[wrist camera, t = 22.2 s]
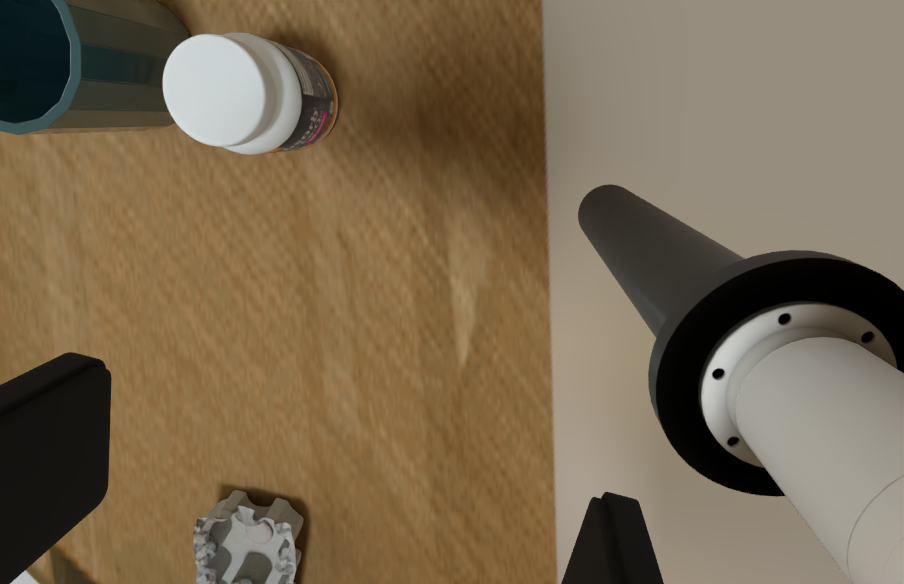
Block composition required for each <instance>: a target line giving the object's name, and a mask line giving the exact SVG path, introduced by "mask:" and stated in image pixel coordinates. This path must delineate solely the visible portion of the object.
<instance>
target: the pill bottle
mask: <svg viewBox="0 0 904 584" xmlns="http://www.w3.org/2000/svg"><path fill="white" fill-rule="evenodd" d="M163 94H164V99H165V102H166V105H167V108H168V110H169V112H170V114H171V116H172V117H173V119H174V120H175V122H176V123H177V124H178V126H179V127H180V128H181V129H182V130H183V131H184V132H185V133H186V134H188V135H189V136H190V137H192V138H194V139H195V140H197V141H199V142H201V143H204V144H207V145H211V146H217V147H223V148H225V149H228V150H230V151H233V152H236V153H241V154H250V155H255V154H265V153H272V152H282V151H291V150H299V149H305V148H308V147H311V146H313V145H315V144H317V143H318V142H320V141H321V140H322V139H323V138H324V137H325V136H326V135H327V134H328V133H329V131H330V130H331V128H332V127H333V125H334V122H335V119H336V115H337V110H338V98H337V92H336V88H335V85H334V83H333V80H332V78H331V77H330V75H329V73H328V72H327V71H326V69H325V68H324V67H323V66H322V65H321V64H320V63H319V62H318V61H317V60H315V59H314V58H313V57H311V56H309V55H307V54H306V53H304V52H301V51H299V50H296V49H293V48H290V47H287V46H284V45H282V44H279V43H276V42H274V41H271V40H268V39H265V38H262V37H259V36H256V35H253V34H249V33H239V32H234V33H226V34H222V35H215V34H202V35H197V36H194V37H191V38H189V39H187V40H185V41H183V42H182V43H181V44H179V45H178V46H177V47H176V48H175V49H174V51H173V52H172V53H171V55H170V57H169V58H168V60H167V63H166V66H165V69H164V73H163Z"/></svg>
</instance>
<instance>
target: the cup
mask: <svg viewBox="0 0 904 584" xmlns="http://www.w3.org/2000/svg"><path fill="white" fill-rule="evenodd" d="M189 38H191V36H190V34H189V33H188V31H187V30H186V28H185V26H184V25H183V24H182V22H181V21H180V20H179V19H178V18H177V17H176V16H175V15H174V14H173V13H172V12H171V11H170V10H169V9H168V8H166V7H165V6H163V5H162V4H160V3H158V2H157V1H155V0H0V131H2V132H7V133H11V134H16V135H28V134H59V133H89V132H119V131H145V130H150V129H159V128H163V127H166V126H168V125H171V124H173V123H174V122H175V120H174V119H173V117H172V116H171V114H170V112H169V110H168V108H167V105H166V102H165V99H164V94H163V73H164V69H165V66H166V63H167V60H168V58H169V57H170V55H171V53H172V52H173V51H174V49H175V48H176V47H177V46H178V45H179V44H181V43H182V42H183V41H185V40H187V39H189Z"/></svg>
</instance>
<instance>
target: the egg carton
mask: <svg viewBox="0 0 904 584" xmlns="http://www.w3.org/2000/svg"><path fill="white" fill-rule="evenodd" d="M302 525H303V517H302V516H301V515H299V514H298V513H297V512H296V511H295V510H293V509H292V507H291V506H290V504H289V502H288V501H287V500H283V499H280V498H276V499H275V501H274V502H273V504H272V505H271V506H269V507H261V506H256V505H254V504H253V503H251V502H250V500H249V499H248V497H247V493H246V492H243V491H239V490H234V491H233V492H232V493H231V495H230V496H229V498H228V499H225V500H221V501H220V502H219V503H218V504H217V505H216V506H215V507H214V508H213V509H212V510H211V512H210V513H209V514H208V516H207V518H198V519H197V524H195V526H194V528H195V531H194V533H193V538H194V542H193V548H194V553H196V552H197V555H196V562H195V563H196V564H197V576H196V582H197V584H297V583H294V577H295V572H296V569H297V566H298V564H299V562H300V559H301V551H300V550H298V549H296V548H295V545H294V542H295V540H296V538H297V536H298V534H299V532H300V530H301V528H302Z"/></svg>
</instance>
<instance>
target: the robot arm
mask: <svg viewBox="0 0 904 584" xmlns="http://www.w3.org/2000/svg"><path fill="white" fill-rule="evenodd" d="M780 315H782V316H781V317H780ZM779 317H780V318H779ZM717 368H718V369H717ZM715 369H717V370H716V371H714V370H715ZM698 401H699V405H700V410H701V414H702V416H703V418H704V420H705V422H706V425H707V427H708V428H709V430H710V431H711V433H712V434H713V436H714V437H715V439H716V440H717V441H718V442H719V443H720V444H721V445H722V446H723V447H724V448H725V449H726V450H727V451H728V452H730V453H731V454H733V455H734V456H736V457H737V458H739V459H740V460H743V461H745V462H747V463H750V464H752V465H755V466H758V467H763V468H766V470H767V471H768V472H769V474H770V475H771V476H772V478H773V479H774V481H775V482H776V483H777V485H778V486H779V487H780V489H781V490H782V491H783V493H784V494H785V495H786V497H787V498H788V499H789V501H790V502H791V503H792V505H793V506H794V507H795V509H796V510H797V511H798V513H799V514H800V516H801V517H802V518H803V520H804V521H805V522H806V524H807V525H808V526H809V528H810V529H811V530H812V532H813V533H814V534H815V536H816V537H817V538H818V540H819V541H820V542H821V544H822V545H823V546H824V548H825V549H826V551H827V552H828V553H829V555H830V556H831V557H832V559H833V560H834V561H835V563H836V564H837V565H838V567H839V568H840V569H841V570H842V572H843V573H844V575H845V576H846V577H847V578H848V580H849V581H850V583H851V584H904V373H902V372H901V371H899V370H897V364H896V359H895V356H894V354H893V351H892V349H891V346H890V344H889V343H888V342H887V340H886V339H885V337H884V336H883V334H882V333H881V332H880V331H879V330H878V329H877V328H876V327H875V326H874V325H872V324H871V323H870V322H869V321H868V320H866V319H864V318H863V317H861V316H859V315H858V314H856V313H854V312H852V311H850V310H848V309H845V308H843V307H841V306H838V305H835V304H830V303H826V302H821V301H801V300H800V301H793V302H785V303H780V304H777V305H773V306H770V307H767V308H763V309H761V310H759V311H757V312H755V313H753V314H751V315H749V316H747V317H745V318H744V319H742V320H741V321H740V322H738V323H737V324H735V325H734V326H733V327H731V328H730V329H729V330H728V331H727V332H726V333H725V334H724V335H723V336H722V337H721V338H720V339H719V340H718V341H717V343H716V344H715V346H714V347H713V349H712V350H711V351H710V353H709V354H708V356H707V359H706V361H705V363H704V365H703V368H702V370H701V375H700V379H699V384H698ZM110 407H111V373H110V371H109V370H107V369H106V367H105V364H104V362H103V361H101V360H100V359H96V358H92V357H89V356H85V355H81V354H77V353H72V352H69V353H65V354H63V355H61V356H59V357H57V358H55V359H53V360H51V361H49V362H47V363H44V364H42V365H40V366H38V367H36V368H34V369H32V370H30V371H28V372H26V373H24V374H22V375H20V376H18V377H16V378H14V379H12V380H10V381H8V382H6V383H4V384H2V385H0V584H10V583H11V582H12V581H13V580H14V579H16V578H17V577H18V576H19V575H20V574H21V573H22V572H24V571H25V570H26V569H27V568H28V567H29V566H30V565H31V564H33V563H34V562H35V561H36V560H37V559H38V558H39V557H41V556H42V555H43V554H44V553H45V552H46V551H47V550H48V549H50V548H51V547H52V546H53V545H54V544H55V543H56V542H57V541H59V540H60V539H61V538H62V537H63V536H64V535H65V534H67V533H68V532H69V531H70V530H71V529H72V528H73V527H74V526H76V525H77V524H78V523H79V522H80V521H81V520H82V519H83V518H85V517H86V516H87V515H88V514H89V513H90V512H91V511H93V510H94V509H95V508H96V507H97V506H98V505H99V504H100V503H101V501H102V500H103V498H104V496H105V494H106V492H107V489H108V474H109V440H110ZM561 584H664V583H663V579H662V576H661V573H660V570H659V566H658V563H657V560H656V556H655V553H654V550H653V547H652V543H651V540H650V537H649V534H648V530H647V527H646V524H645V520H644V517H643V514H642V511H641V507H640V504H639V502H638V501H637V500H636V499H633V498H628V497H625V496H621V495H617V494H613V493H609V492H605V493H604V494H603V496H602V498H601V499H600V498H596V497H593V498H592V499H591V501H590V503H589V506H588V509H587V512H586V514H585V517H584V520H583V523H582V526H581V529H580V532H579V535H578V537H577V540H576V543H575V546H574V549H573V552H572V555H571V558H570V561H569V564H568V566H567V569H566V572H565V575H564V578H563V581H562V583H561Z"/></svg>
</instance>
